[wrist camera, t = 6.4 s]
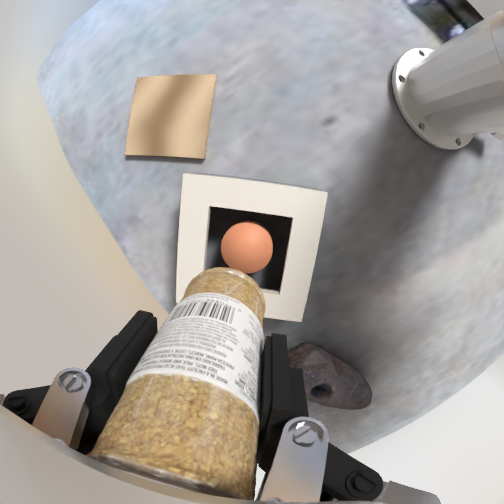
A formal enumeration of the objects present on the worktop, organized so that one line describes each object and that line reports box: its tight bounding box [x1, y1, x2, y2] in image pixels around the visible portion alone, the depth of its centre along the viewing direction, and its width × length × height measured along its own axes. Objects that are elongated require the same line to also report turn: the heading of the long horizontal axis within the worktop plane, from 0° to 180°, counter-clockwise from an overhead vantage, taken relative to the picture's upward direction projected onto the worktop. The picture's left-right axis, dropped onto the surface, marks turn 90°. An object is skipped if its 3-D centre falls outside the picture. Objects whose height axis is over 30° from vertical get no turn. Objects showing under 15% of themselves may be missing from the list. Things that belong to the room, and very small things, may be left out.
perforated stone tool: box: [288, 343, 372, 410], centre depth 29 cm, size 15×5×7 cm, turn 55°
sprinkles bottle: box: [85, 267, 266, 501], centre depth 8 cm, size 5×5×14 cm
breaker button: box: [221, 220, 273, 273], centre depth 25 cm, size 5×5×2 cm
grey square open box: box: [176, 173, 328, 322], centre depth 26 cm, size 12×12×5 cm
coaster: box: [125, 75, 217, 159], centre depth 25 cm, size 9×9×1 cm
